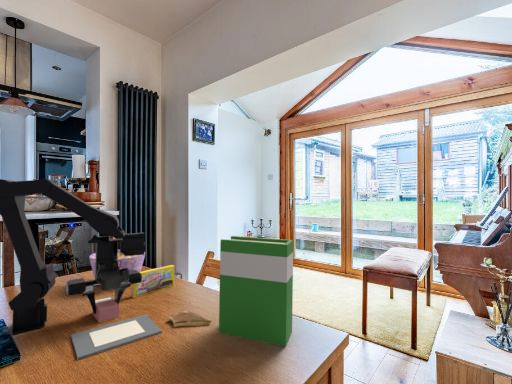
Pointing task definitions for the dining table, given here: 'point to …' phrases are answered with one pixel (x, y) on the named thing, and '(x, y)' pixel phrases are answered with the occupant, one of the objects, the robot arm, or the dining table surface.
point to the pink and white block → (106, 309)
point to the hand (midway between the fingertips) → (105, 310)
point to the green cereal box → (256, 289)
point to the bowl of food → (123, 262)
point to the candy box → (154, 281)
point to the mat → (113, 335)
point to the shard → (188, 319)
